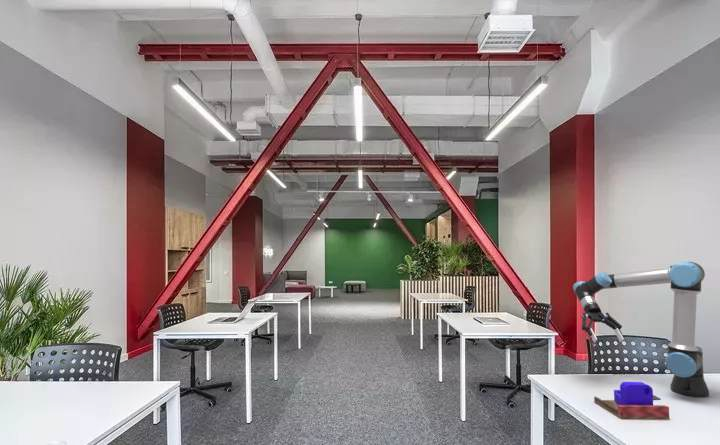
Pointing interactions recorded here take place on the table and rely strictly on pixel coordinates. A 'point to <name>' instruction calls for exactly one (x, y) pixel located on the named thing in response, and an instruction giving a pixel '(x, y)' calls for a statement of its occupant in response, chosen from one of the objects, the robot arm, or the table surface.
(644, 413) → the walnut stop track
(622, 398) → the bracket
